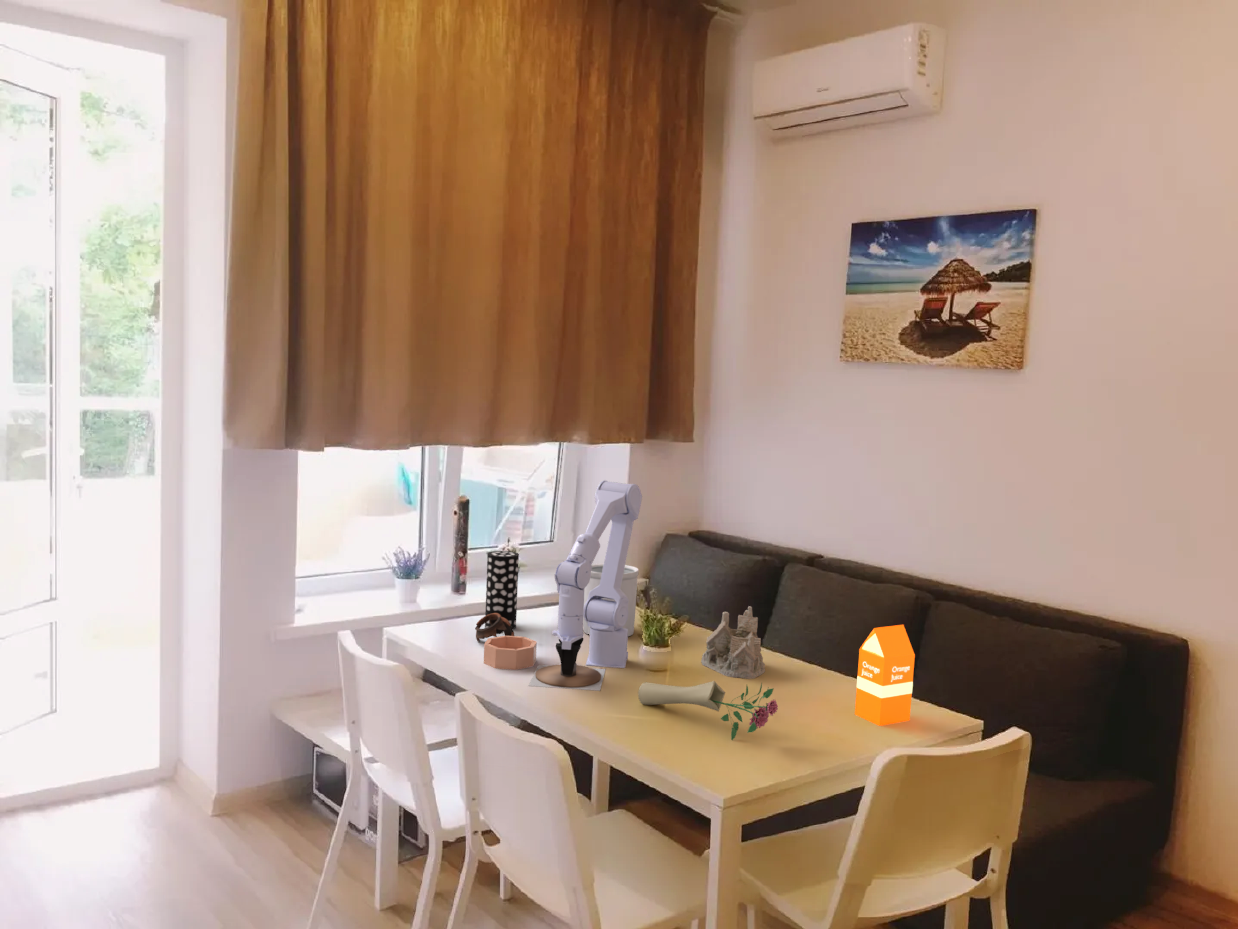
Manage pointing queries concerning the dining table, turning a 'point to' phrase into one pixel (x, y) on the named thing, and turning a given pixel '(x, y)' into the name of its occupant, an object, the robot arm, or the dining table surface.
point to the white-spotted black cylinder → (502, 585)
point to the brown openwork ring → (493, 626)
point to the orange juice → (885, 676)
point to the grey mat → (591, 687)
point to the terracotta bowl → (510, 652)
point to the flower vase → (707, 701)
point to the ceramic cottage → (735, 648)
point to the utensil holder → (626, 586)
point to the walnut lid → (568, 676)
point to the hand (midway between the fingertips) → (568, 671)
